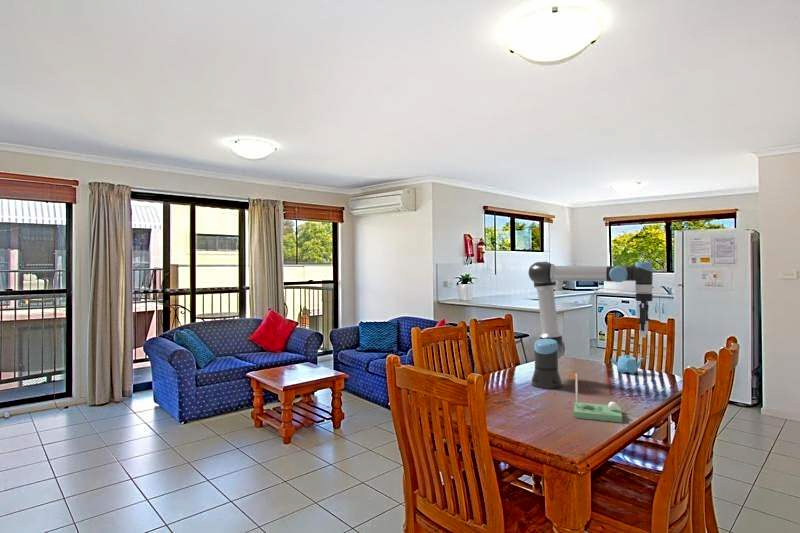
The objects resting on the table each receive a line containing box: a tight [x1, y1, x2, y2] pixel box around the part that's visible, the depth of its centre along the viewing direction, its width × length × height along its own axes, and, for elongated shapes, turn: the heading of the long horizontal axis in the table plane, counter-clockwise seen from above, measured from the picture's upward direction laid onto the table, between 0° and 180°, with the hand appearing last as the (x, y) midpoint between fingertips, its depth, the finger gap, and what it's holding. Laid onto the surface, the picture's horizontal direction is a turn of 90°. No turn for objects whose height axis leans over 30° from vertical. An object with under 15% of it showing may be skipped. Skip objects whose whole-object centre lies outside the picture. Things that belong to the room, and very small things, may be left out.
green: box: [567, 372, 623, 423], centre depth 195 cm, size 21×14×16 cm
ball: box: [607, 401, 619, 411], centre depth 192 cm, size 4×4×4 cm
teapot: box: [610, 354, 645, 375], centre depth 268 cm, size 18×14×10 cm
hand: (643, 335), depth 231 cm, fingers open, 13 cm apart
